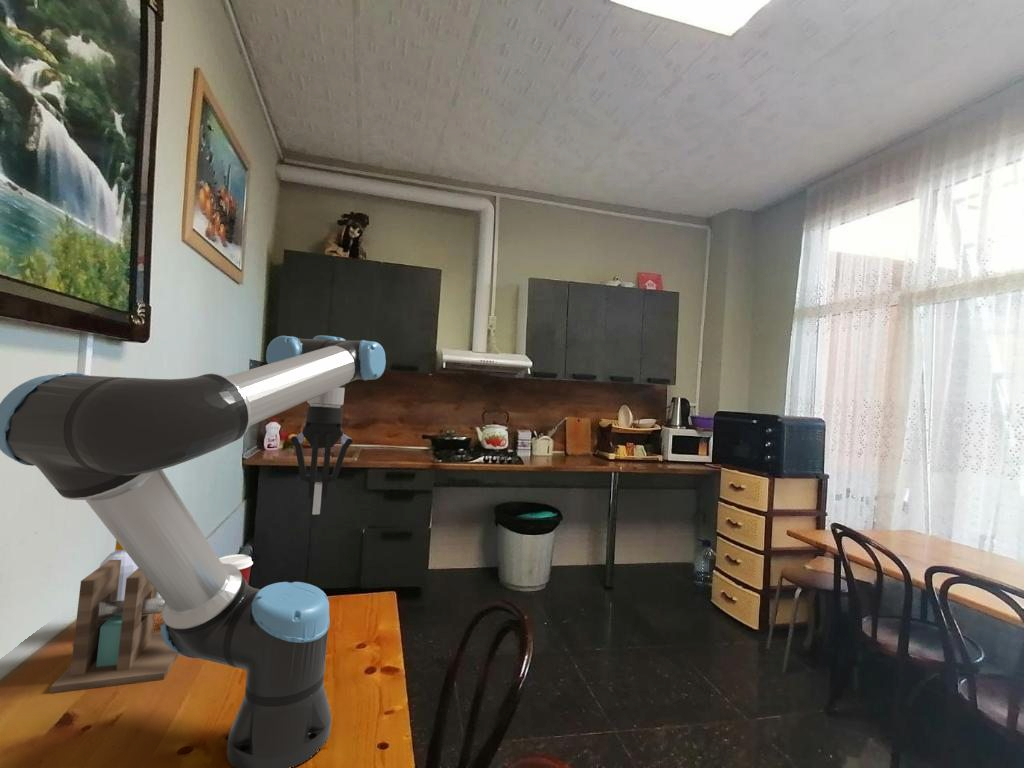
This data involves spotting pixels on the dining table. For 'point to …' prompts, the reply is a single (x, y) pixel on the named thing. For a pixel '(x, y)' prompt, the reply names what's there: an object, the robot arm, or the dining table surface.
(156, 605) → the shaft
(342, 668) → the dining table surface
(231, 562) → the coffee cup
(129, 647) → the block
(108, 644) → the spacer
